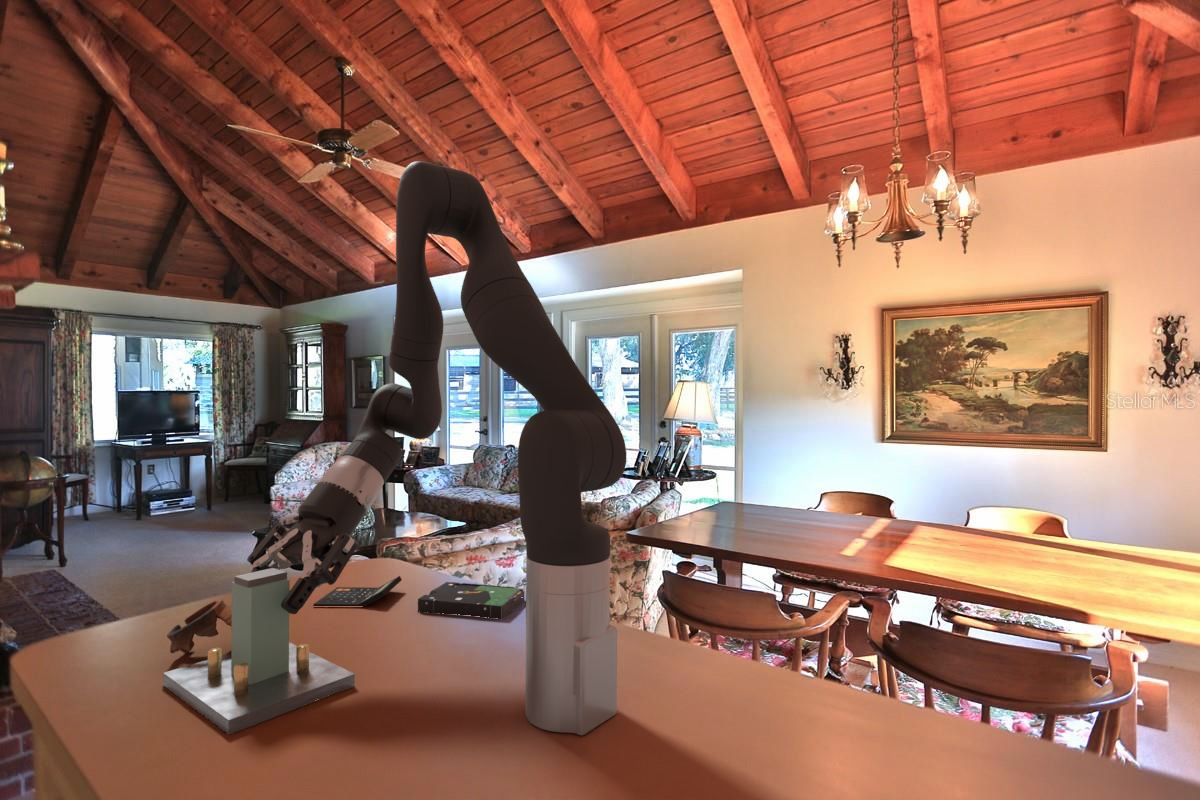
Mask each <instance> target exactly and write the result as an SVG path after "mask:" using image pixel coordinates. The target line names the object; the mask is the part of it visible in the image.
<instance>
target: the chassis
mask: <svg viewBox="0 0 1200 800" xmlns="http://www.w3.org/2000/svg"><path fill="white" fill-rule="evenodd" d="M222 650H223V648H222V647H212V648H210V649H208V651H207V659H206V660H202V661H199V662H196V663H193V664H188V665H186V666H182V667H179V668H176V669H171V670H169V671H165V672H163V673H162V674H163V675H162V686H163V687H165V688H166V689H167V690H169V691H170V692H171V693H173V694H174V695H175V696H177V698H179V699H180V700H182V701H183V702H184V701H185V703H186V704H187V705H188V706H190V707H191V708H193V709H194V710H195V711H196V710H197V711H196V712H198V713H199V714H200V713H201V714H200V715H202V716H203V715H204V716H205V717H204V716H203V717H204V718H206V720H208V719H209V720H210V721H209V720H208V721H209V722H211V723H212V724H213V723H214V724H213V725H215V724H216V725H217V726H218V727H217V726H216V725H215V726H216V727H217V728H219V729H220V730H221V729H222V730H221V731H223V732H224V731H225V732H226V733H225V732H224V733H225V734H227V735H228V736H229V735H232V734H235V733H237V732H239V731H242V730H244V729H247V728H250V727H253V726H255V725H258V724H260V723H263V722H265V721H269V720H270V719H273V718H276V717H279V716H281V715H284V714H285V712H287V713H289V712H291V711H290V710H292V711H294V709H295V710H297V709H299V708H298V707H300V708H302V707H304V706H303V705H305V704H308V703H310V704H312V703H311V702H313V701H315V700H317V699H321V698H323V697H326V696H328V695H331V694H334V695H335V693H336V694H338V693H337V692H339V693H341V692H343V691H342V690H344V691H346V690H345V689H347V690H350V689H351V687H352V688H354V687H355V685H356V684H355V678H356V677H355V676H356V674H355V672H352V671H350V670H348V669H346V668H344V667H342V666H339V665H337V664H335V663H333V662H331V661H329V660H328V659H325V658H323V657H321V656H319V655H316V654H315V653H312V652H310V645H309V644H307V643H304V644H299V645H296V644H294V643H292V642H290V641H289V671H287V672H285V673H282V674H279V675H276V676H274V677H271V678H268V679H265V680H262V681H260V682H257V683H254V684H251V685H250V684H248V663H239V664H236V665H235V666H234V676H233V675H231V652H230V653H226V654H223V653H222V652H223V651H222ZM340 691H341V692H340ZM331 696H332V695H331ZM328 697H329V696H328ZM326 698H327V697H326ZM323 699H324V698H323ZM321 700H322V699H321ZM315 702H316V701H315ZM313 703H314V702H313ZM308 705H309V704H308ZM301 706H302V707H301ZM305 706H306V705H305ZM296 708H297V709H296ZM288 711H289V712H288ZM283 713H284V714H283ZM280 714H281V715H280ZM278 715H279V716H278Z"/></svg>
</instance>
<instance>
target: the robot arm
mask: <svg viewBox="0 0 1200 800" xmlns="http://www.w3.org/2000/svg"><path fill="white" fill-rule="evenodd" d="M395 207H396V210H395V269H396V270H395V272H396V296H395V297H396V300H395V314H394V323H393V328H392V330H393V331H392V335H391V342H390V349H389V350H390V351H389V357H388V364H389V367H390V369H391V371H393V372H394V373H396V374H397V375H399V376H400V377H402V378H403V379H404V380H406V381H407V382H408V384H409V386H410V387H407V386H405V385H402V384H399V383H391V382H390V383H386V384H384V385H382V386H380V387H379V388H378V389H376V390H375V392H374V393H373V394H372V395H371V398H370V401H369V403H368V406H367V409H366V411H365V414H364V417H363V420H362V422H361V424H360V426H359V428H358V431H357V433H356V435H355V437H354V439H353V440H352V441H351V442H350V444H349V445H348V447H347V448H346V449H345V450H344V452H343V453H342V454H341V456H340V457H339V458H338V459H337V460H336V461H335V462H334V463H333V464H332V465H331V466H330V467H329V468H328V469H327V471H325V473H324V474H323V475H322V477H321V478H320V479H319V481H318V482H317V483H316V485H315V486H314V487H313V489H312V490H310V493H308V495H307V496H306V498H305V499H304V500H303V501H302V502H301V504H300V505H299V507H298V509H297V514H298V521H297V522H296V523H295V524H294V525H293V526H291V527H290V528H288V527H286V526H284V525H283V524H282V523H281V522H278V523H276V524H274V526H273V527H272V528H271V529H270V530H269V531H268V532H267V534H266V535H265V536H264V538H263V539H262V540H261V541H260V542H259V543H258V544H257V546H256V547H255V549H253V551H251V553H250V554H249V555H248V557H247V559H246V561H247V562H248V563H249V564H250V565H252V570H251V571H250V573H252V572H257V571H261V570H266V569H270V568H275V569H278V570H282V569H283V570H284V569H285V570H286V569H288V568H290V567H291V566H293V565H295V566H298V565H302V566H303V568H302V576H303V577H299V578H298V579H296V582H295V583H294V584H293V586H292V587H291V588H290V590H289V593H288V594H287V596H286V597H285V598H284V600H283V601H282V603H281V607H282V608H283V609H284V610H286V611H287V612H288V613H289V615H296V614H297V613H299V611H300V610H301V609H302V608H303V607H304V605H305V604H306V602H307V601H308V600H309V598H310V597H311V595H312V594H313V593H314V591H315V590H316V588H320V587H321V586H322V585H323V584H327V585H329V586H333V585H334V584H335V583H336V582H337V580H338V578H339V577H340V576H341V574H342V572H343V571H344V569H345V567H346V565H347V564H348V563H349V561H350V559H351V558H352V556H353V555H354V553H355V551H356V549H358V548H357V547H358V543H357V542H356V541H355V540H354V539H353V538H352V534H353V533H354V531H355V529H356V528H358V525H359V524H360V523H361V521H362V519H364V517H365V515H366V514H367V512H368V511H369V510H370V508H371V506H372V505H373V504H374V502H375V501H376V499H377V498H378V496H379V494H380V492H381V489H382V488H383V485H384V484H385V483H386V482H387V480H388V478H390V475H391V474H392V473H393V472H394V470H395V468H396V467H397V465H398V464H399V463H400V460H401V458H402V456H403V455H402V454H403V450H402V447H401V445H400V444H399V443H398V442H397V440H395V438H394V437H392V436H391V435H390V434H388V433H387V431H388V430H389V431H392V432H394V433H396V434H397V433H398V434H401V435H403V436H407V437H410V438H412V439H416V440H426V439H428V438H430V437H431V436H432V435H434V433H435V432H436V431H437V429H438V428H439V425H440V424H441V420H442V414H443V413H442V412H443V405H442V397H441V396H442V395H441V390H440V378H439V367H438V366H439V360H440V353H441V347H442V341H443V336H444V314H443V311H442V310H443V309H442V306H441V304H440V302H439V299H438V296H437V294H436V291H435V288H434V287H433V284H432V281H431V278H430V275H429V271H428V268H427V267H428V266H427V262H426V247H427V246H426V245H427V239H428V234H429V235H434V236H441V237H446V238H447V237H448V238H452V239H454V240H456V241H457V242H458V243H460V245H461V247H462V248H463V250H464V252H465V254H466V256H467V259H468V267H467V270H466V272H465V275H464V278H463V281H462V285H461V291H460V305H461V309H462V312H463V314H464V317H465V319H466V321H467V323H468V325H469V327H470V329H471V332H472V333H473V335H474V338H475V340H476V341H477V344H478V345H479V347H480V348H481V350H482V351H483V352H484V353H485V355H487V357H489V359H490V360H491V361H492V362H493V363H494V364H496V365H497V366H498V367H499V368H500V370H502V371H504V373H506V374H507V375H508V376H509V377H511V378H512V379H513V380H514V381H515V382H517V383H518V384H519V385H521V387H523V388H524V389H525V390H526V391H528V392H529V394H530V395H532V396H533V398H534V399H535V401H537V403H538V404H539V405H540V407H541V408H542V409H543V410H542V411H539V412H536V413H535V414H533V415H531V416H530V417H529V418H528V419H527V421H526V422H525V423H524V426H523V427H522V431H521V432H520V438H519V442H518V449H517V475H518V476H517V477H518V478H517V479H518V496H519V520H520V527H521V531H522V534H523V536H524V540H525V546H526V549H525V550H526V558H525V560H526V563H525V564H526V567H525V568H526V570H525V571H526V573H525V575H526V577H525V579H526V581H525V591H526V592H525V705H524V706H525V714H524V715H525V717H526V719H527V720H528V722H529V723H530V724H531V725H533V726H535V727H537V728H539V729H542V730H546V731H549V732H555V733H570V734H571V733H572V734H576V735H579V736H584V735H586V734H587V733H589V732H590V731H592V730H594V729H595V728H597V727H599V725H601V724H602V723H604V722H605V721H608V720H609V719H610V718H612V717H613V716H615V715H616V714H617V713H618V709H617V707H618V629H617V627H616V626H615V625H611V620H610V619H611V618H610V616H611V610H610V609H611V602H610V601H611V590H610V589H611V582H610V581H611V536H610V532H609V530H608V529H607V528H606V527H604V526H602V525H600V524H598V523H597V524H596V523H594V522H590V521H589V520H587V518H586V517H585V516H584V512H583V504H582V502H583V501H582V493H587V492H593V491H599V490H603V489H606V488H609V487H611V486H613V485H615V484H617V483H618V481H619V480H620V479H621V478H622V476H623V474H624V472H625V470H626V465H627V448H626V443H625V438H624V435H623V432H622V431H621V429H620V426H619V424H618V423H617V421H616V419H615V418H614V416H613V415H612V413H611V412H610V410H609V409H608V407H607V406H606V405H605V404H604V402H603V401H602V399H601V398H600V396H599V395H598V394H597V392H596V391H595V390H594V388H593V387H592V386H591V384H590V383H589V381H588V380H587V379H586V378H585V376H584V374H583V373H582V371H581V370H580V369H579V367H578V366H577V364H576V363H575V360H574V359H573V357H572V356H571V353H570V352H569V350H568V349H567V347H566V346H565V344H564V342H563V340H562V338H561V337H560V336H559V333H558V332H557V330H556V328H555V327H554V324H552V322H551V320H550V318H549V316H548V314H547V312H546V310H545V308H544V306H543V304H542V302H541V299H540V298H539V296H538V295H537V293H536V292H535V290H534V288H533V286H532V285H531V283H530V281H529V279H528V278H527V277H526V275H525V274H524V272H523V270H522V268H521V266H520V265H519V263H518V261H517V259H516V257H515V255H514V253H513V251H512V248H511V247H510V245H509V243H508V241H507V239H506V237H505V235H504V233H503V231H502V227H501V226H500V223H499V221H498V219H497V216H496V214H495V211H494V209H493V206H492V203H491V201H490V199H489V196H488V194H487V192H486V190H485V188H484V187H483V185H482V183H481V182H480V181H479V179H477V177H475V176H474V175H472V174H470V173H468V172H466V171H465V170H464V171H463V170H459V169H456V168H452V167H447V166H444V165H440V164H436V163H432V162H427V161H424V160H423V161H422V160H421V161H419V160H417V161H416V160H415V161H413V162H410V163H409V164H408V165H407V166H406V167H405V169H404V171H403V172H402V173H401V176H400V180H399V183H398V187H397V194H396V206H395ZM264 551H267V553H265V554H264V555H262V554H263V553H264ZM281 551H282V553H283V554H282V553H281ZM261 555H262V556H261ZM272 562H274V563H273V564H271V563H272ZM332 564H334V565H333V568H332V569H331V570H329V569H330V568H331V566H332Z"/></svg>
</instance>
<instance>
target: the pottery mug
mask: <svg viewBox="0 0 1200 800" xmlns="http://www.w3.org/2000/svg"><path fill="white" fill-rule="evenodd" d="M218 619H219V620H222V621H223V622H224V623H225V624H226V625H227V626H230V628H232V605H227V604H226V602H225V601H224V599H222V598H221V599H220V598H219V599H217V600H213V601H212V602H209V603H207V604H206V605H205V606H203V607H201V608H199V609H198V610H196V611H195V612H194V613H192V614H191V615H189V616H187V617H186V618H185V619H184V623H185V625H184V626H183V627H182V626H181V625H180V624H177V625H176V626H174V627H173V628H172V629H171V630H170V631H169V632H168V633H167V634H166V637H167V638H168V640H169V641H170V642H171V643H170V649H169V652H170V654H175V653H177V652H179V651H180V652H181V653H183V654H185V655H188V654H190V652H191V651H192V649H193V648H194V647H195V642H194V640H193V639H194V637H195V635H196V636H198V637H208V638H213V637H216V636H218V635H219V631H218V629H217V621H218Z"/></svg>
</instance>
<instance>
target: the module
mask: <svg viewBox="0 0 1200 800" xmlns="http://www.w3.org/2000/svg"><path fill="white" fill-rule="evenodd" d="M233 579H234V581H231V606H232V627H231V647H230V648H231V649H230V650H231V652H230V653H231V675H233V676H234V666H235V665H236V664H239V663H248V684H250V685H251V684H254V683H257V682H260V681H262V680H265V679H268V678H271V677H274V676H276V675H279V674H282V673H285V672H287V671H289V642H290V613H288V612H287V611H286V610H284V609H283V608H282V607H281V603H282V601H283V600H284V598H285V597H286V596H287V594H288V593H289V591H290V590H291V588H290V584H291V583H290V579H289V578H288V572H287V571H285V570H282V569H280V570H278V569H275V568H270V569H266V570H261V571H257V572H252V573H251V572H248V573H244V574H239V575H234V577H233Z"/></svg>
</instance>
